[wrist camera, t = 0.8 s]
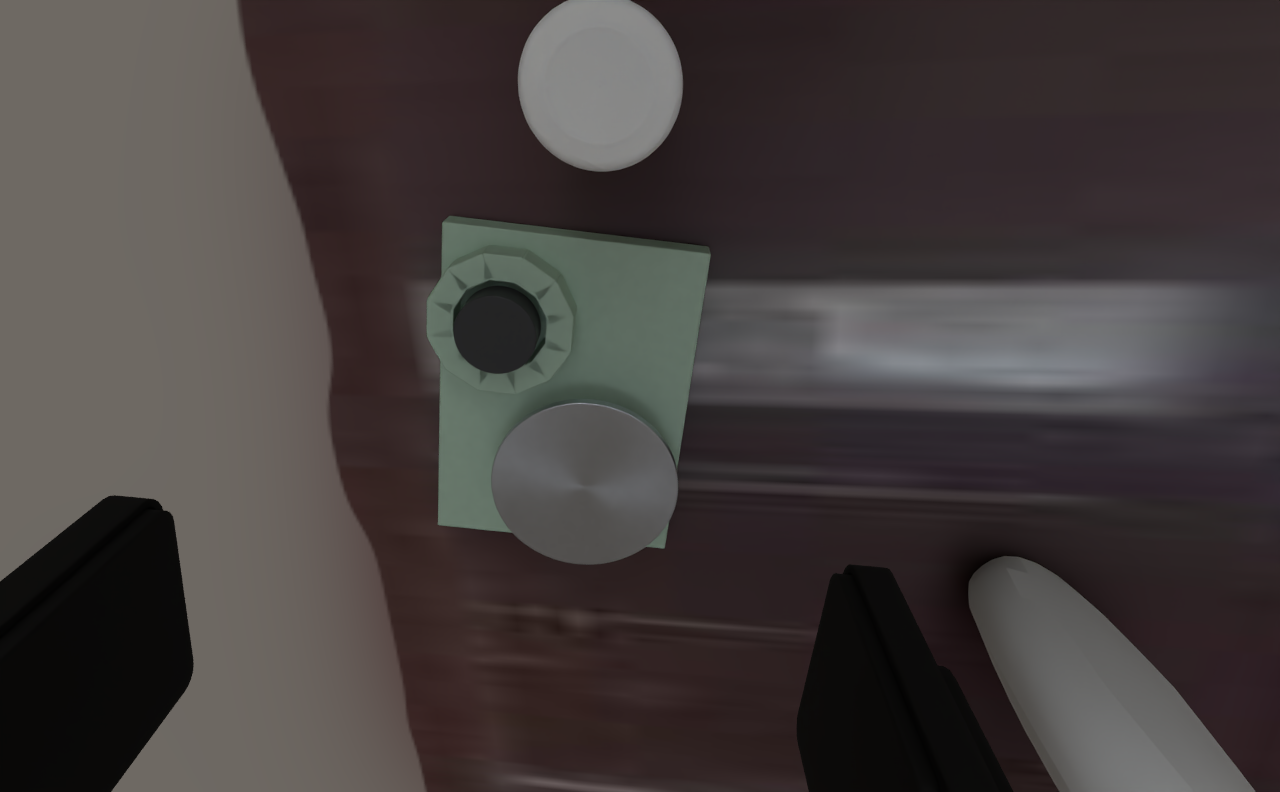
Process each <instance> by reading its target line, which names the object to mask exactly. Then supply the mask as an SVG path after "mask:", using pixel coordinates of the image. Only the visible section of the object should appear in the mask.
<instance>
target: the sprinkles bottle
mask: <svg viewBox="0 0 1280 792" xmlns="http://www.w3.org/2000/svg"><path fill="white" fill-rule="evenodd" d="M518 93H519V99H520V103H521V108H522V110H523V113H524V116H525V119H526V121H527V123H528V125H529V127H530V129H531V130H532V132H533V133H534V135H535V136H536V138H537V139H538V140H539V142H540V143H541V144H542V145H543V146H544V147H545V148H546V149H547V150H548V151H549V152H551V153H552V154H553V155H554V156H556V157H557V158H559V159H560V160H562V161H564V162H566V163H568V164H570V165H572V166H574V167H577V168H580V169H584V170H589V171H597V172H608V171H615V170H620V169H623V168H626V167H629V166H632V165H634V164H636V163H638V162H640V161H642V160H643V159H645V158H646V157H648V156H649V155H650V154H651V153H653V152H654V151H655V150H656V149H657V148H658V147H659V146H660V145H661V144H662V143H663V141H664V140H665V139H666V137H667V136H668V134H669V133H670V131H671V129H672V127H673V125H674V123H675V121H676V119H677V116H678V114H679V110H680V106H681V101H682V94H683V76H682V68H681V63H680V59H679V56H678V53H677V50H676V47H675V45H674V43H673V41H672V39H671V37H670V36H669V34H668V32H667V31H666V30H665V28H664V27H663V26H662V24H661V23H660V22H659V21H658V20H657V19H656V18H655V17H654V16H653V15H652V14H651V13H649V12H648V11H647V10H646V9H644V8H643V7H641V6H639V5H638V4H636V3H634V2H632V1H630V0H568V1H566V2H564V3H562V4H560V5H558V6H557V7H555V8H553V9H552V10H551V11H550V12H549V13H547V14H546V15H545V16H544V17H543V18H542V19H541V20H540V21H539V23H538V24H537V25H536V26H535V28H534V29H533V31H532V32H531V34H530V36H529V38H528V40H527V42H526V44H525V46H524V49H523V52H522V55H521V59H520V64H519V70H518Z"/></svg>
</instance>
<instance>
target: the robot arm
mask: <svg viewBox="0 0 1280 792" xmlns="http://www.w3.org/2000/svg"><path fill="white" fill-rule="evenodd" d="M192 673H193V655H192V648H191V640H190V633H189V626H188V619H187V611H186V604H185V597H184V590H183V583H182V575H181V568H180V561H179V554H178V546H177V539H176V532H175V525H174V520H173V516H172V515H171V513H170V512H168V511H163V509H162V506H161V505H160V503H159V502H158V501H156V500H154V499H146V498H136V497H125V496H108V497H107V498H105V499H103V500H102V501H101V502H99V503H98V504H97V505H95V506H94V507H93V508H92V509H91V510H89V511H88V512H87V513H85V514H84V515H83V516H82V517H80V518H79V519H78V520H77V521H75V522H74V523H73V524H72V525H70V526H69V527H68V528H67V529H66V530H64V531H63V532H62V533H60V534H59V535H58V536H57V537H56V538H54V539H53V540H52V541H51V542H49V543H48V544H47V545H45V546H44V547H43V548H42V549H40V550H39V551H38V552H37V553H35V554H34V555H33V556H32V557H30V558H29V559H28V560H27V561H25V562H24V563H23V564H22V565H20V566H19V567H18V568H17V569H15V570H14V571H13V572H12V573H10V574H9V575H8V576H7V577H6V578H4V579H3V580H2V581H0V792H111V791H112V790H113V788H114V787H115V786H116V784H117V783H118V782H119V780H120V779H121V777H122V776H123V775H124V773H125V772H126V771H127V769H128V768H129V767H130V765H131V764H132V763H133V761H134V760H135V758H136V757H137V756H138V754H139V753H140V752H141V750H142V749H143V748H144V746H145V745H146V743H147V742H148V741H149V739H150V738H151V737H152V735H153V734H154V733H155V731H156V730H157V729H158V727H159V726H160V724H161V723H162V722H163V720H164V719H165V718H166V716H167V715H168V714H169V712H170V710H171V709H172V708H173V707H174V705H175V704H176V703H177V701H178V700H179V698H180V697H181V696H182V694H183V693H184V692H185V690H186V688H187V687H188V685H189V682H190V680H191V676H192ZM797 740H798V746H799V750H800V754H801V759H802V763H803V767H804V772H805V776H806V780H807V785H808V789H809V792H1013V790H1012V788H1011V786H1010V784H1009V782H1008V780H1007V778H1006V777H1005V775H1004V773H1003V771H1002V769H1001V767H1000V765H999V763H998V761H997V759H996V757H995V755H994V753H993V751H992V749H991V747H990V745H989V743H988V741H987V739H986V737H985V735H984V733H983V731H982V730H981V728H980V726H979V724H978V722H977V720H976V718H975V716H974V714H973V712H972V710H971V708H970V706H969V704H968V702H967V700H966V698H965V696H964V694H963V692H962V690H961V688H960V686H959V685H958V683H957V681H956V679H955V677H954V676H953V674H952V673H951V671H950V670H949V669H947V668H945V667H944V666H937V664H936V661H935V659H934V657H933V655H932V653H931V651H930V649H929V647H928V645H927V643H926V641H925V639H924V637H923V635H922V633H921V631H920V629H919V627H918V625H917V623H916V621H915V619H914V617H913V615H912V613H911V611H910V609H909V607H908V605H907V603H906V600H905V598H904V596H903V594H902V592H901V590H900V588H899V586H898V584H897V582H896V580H895V578H894V576H893V574H892V572H891V571H890V570H889V569H887V568H881V567H871V566H860V565H848V566H847V567H846V568H845V570H844V573H843V574H837V573H835V574H833V575H832V577H831V579H830V583H829V587H828V591H827V595H826V599H825V603H824V608H823V612H822V616H821V620H820V624H819V628H818V632H817V637H816V641H815V645H814V649H813V653H812V657H811V662H810V666H809V670H808V674H807V678H806V682H805V687H804V691H803V695H802V699H801V703H800V707H799V711H798V717H797Z"/></svg>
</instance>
